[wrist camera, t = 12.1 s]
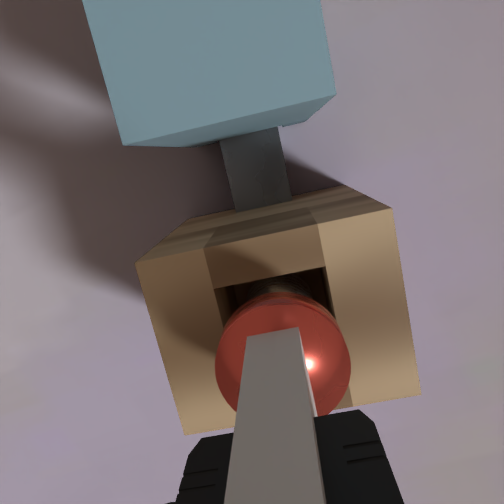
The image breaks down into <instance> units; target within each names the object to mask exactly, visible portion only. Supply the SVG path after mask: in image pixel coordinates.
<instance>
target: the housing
mask: <svg viewBox="0 0 504 504" xmlns="http://www.w3.org/2000/svg"><path fill="white" fill-rule="evenodd" d="M134 264H135V267H136V271H137V274H138V277H139V281H140V284H141V288H142V291H143V295H144V298H145V301H146V305H147V308H148V312H149V315H150V319H151V322H152V325H153V329H154V332H155V336H156V339H157V342H158V346H159V349H160V353H161V356H162V360H163V363H164V366H165V370H166V373H167V377H168V380H169V384H170V387H171V390H172V394H173V397H174V401H175V404H176V407H177V411H178V414H179V418H180V421H181V425H182V428H183V431H184V435H191V434H196V433H202V432H208V431H214V430H220V429H225V428H231V427H235V420H236V413H237V412H235V411H234V410H233V409H232V408H231V407H230V405H229V404H228V403H227V402H226V400H225V399H224V397H223V396H222V394H221V392H220V390H219V387H218V384H217V381H216V376H215V357H216V353H217V349H218V345H219V342H220V338H221V335H222V332H223V329H224V327H225V325H226V323H227V321H228V319H229V318H230V317H231V315H232V314H233V313H234V312H235V311H236V310H237V309H238V308H239V307H240V306H241V305H243V304H244V303H245V302H246V299H247V293H248V290H249V287H250V285H251V283H252V282H253V281H255V280H260V279H265V278H270V277H275V276H280V275H284V274H289V273H294V272H296V273H298V274H299V275H300V276H302V277H303V278H304V279H305V281H306V282H307V283H308V285H309V287H310V290H311V293H312V297H313V300H314V301H316V302H318V303H319V304H321V305H322V306H323V307H325V308H326V309H327V310H328V311H329V312H330V313H331V315H332V316H333V317H334V318H335V320H336V322H337V323H338V325H339V327H340V330H341V332H342V335H343V337H344V340H345V343H346V345H347V348H348V351H349V355H350V361H351V375H350V381H349V384H348V388H347V390H346V392H345V394H344V396H343V398H342V399H341V401H340V402H339V404H338V405H337V406H336V407H335V408H334V409H333V410H336V409H341V408H347V407H353V406H359V405H365V404H370V403H376V402H382V401H388V400H394V399H399V398H405V397H411V396H417V395H421V389H420V383H419V377H418V370H417V364H416V358H415V351H414V345H413V339H412V332H411V326H410V319H409V313H408V307H407V300H406V294H405V288H404V281H403V275H402V269H401V262H400V256H399V250H398V243H397V237H396V231H395V224H394V218H393V211H392V208H391V207H389V206H387V205H385V204H383V203H381V202H379V201H377V200H374V199H372V198H370V197H368V196H366V195H364V194H362V193H360V192H358V191H356V190H354V189H352V188H350V187H348V186H346V185H340V186H336V187H331V188H327V189H322V190H318V191H313V192H309V193H304V194H300V195H295V196H292V201H288V202H283V203H279V204H274V205H269V206H265V207H260V208H256V209H251V210H247V211H242V212H238V213H236V211H235V209H232V210H227V211H222V212H218V213H213V214H209V215H204V216H200V217H195V218H191V219H187V220H186V221H185V222H184V223H183V224H181V225H180V226H179V227H178V228H176V229H175V230H174V231H173V232H172V233H170V234H169V235H168V236H167V237H165V238H164V239H163V240H162V241H161V242H159V243H158V244H157V245H156V246H154V247H153V248H152V249H151V250H150V251H148V252H147V253H146V254H145V255H143V256H142V257H141V258H140V259H139V260H137V261H136V262H135V263H134Z"/></svg>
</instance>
